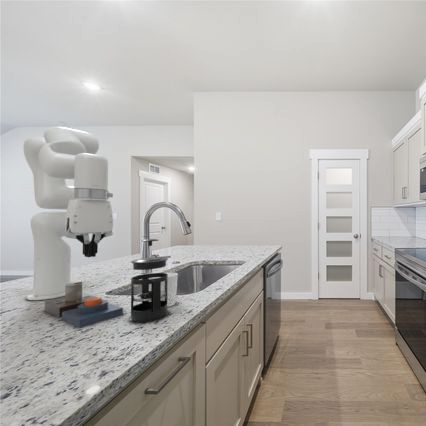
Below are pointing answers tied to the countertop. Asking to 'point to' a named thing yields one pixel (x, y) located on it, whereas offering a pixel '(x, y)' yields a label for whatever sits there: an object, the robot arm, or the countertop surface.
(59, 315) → the panel
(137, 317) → the french press
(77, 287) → the lock knob
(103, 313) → the button block
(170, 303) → the white cup
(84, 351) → the countertop surface
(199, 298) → the countertop surface
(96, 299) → the release button
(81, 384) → the countertop surface
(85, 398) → the countertop surface
